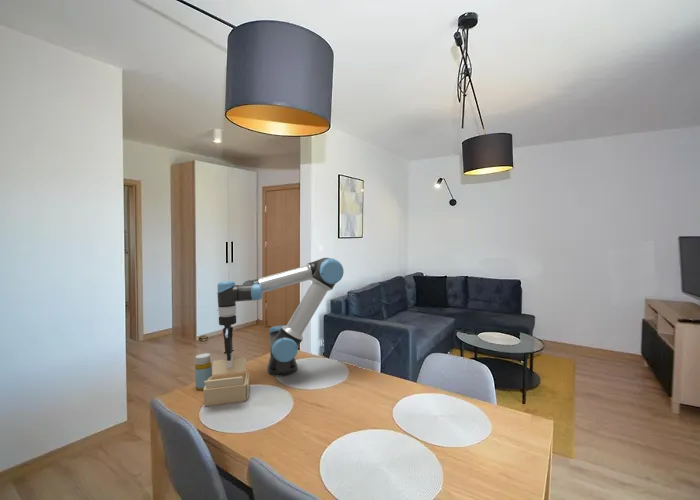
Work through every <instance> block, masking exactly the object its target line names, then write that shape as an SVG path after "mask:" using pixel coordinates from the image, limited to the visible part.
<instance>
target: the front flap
mask: <svg viewBox="0 0 700 500" xmlns="http://www.w3.org/2000/svg"><path fill="white" fill-rule="evenodd" d="M204 382H205V385H206V388H207V389H209V388H218V387H226V386H234V385H242V384H243V378H242V377H233V378H225V379H216V380H207V381H204Z"/></svg>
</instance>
